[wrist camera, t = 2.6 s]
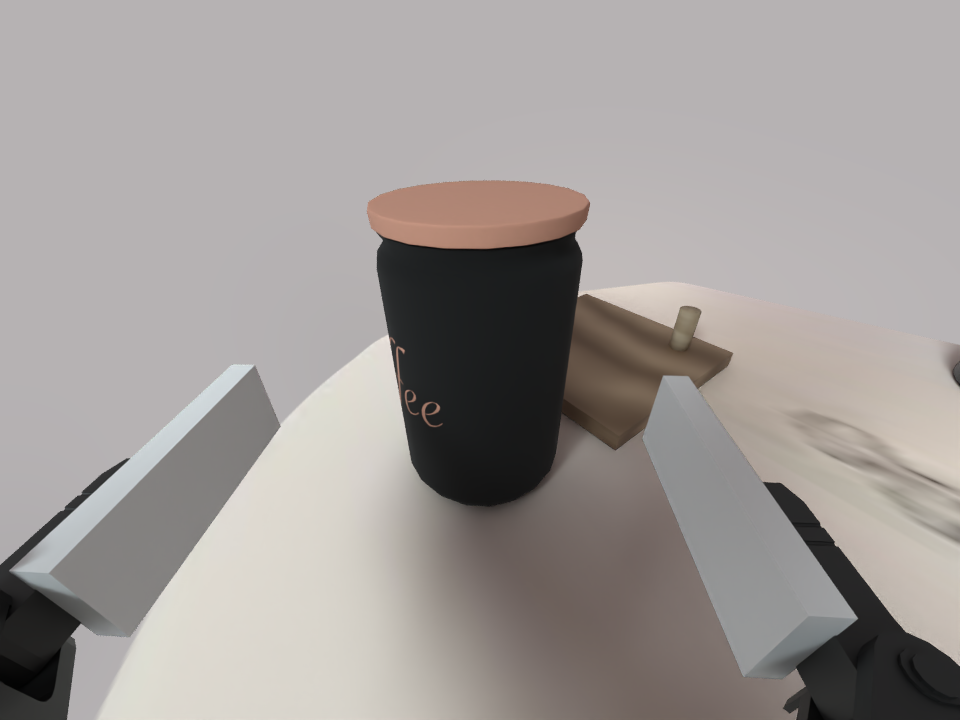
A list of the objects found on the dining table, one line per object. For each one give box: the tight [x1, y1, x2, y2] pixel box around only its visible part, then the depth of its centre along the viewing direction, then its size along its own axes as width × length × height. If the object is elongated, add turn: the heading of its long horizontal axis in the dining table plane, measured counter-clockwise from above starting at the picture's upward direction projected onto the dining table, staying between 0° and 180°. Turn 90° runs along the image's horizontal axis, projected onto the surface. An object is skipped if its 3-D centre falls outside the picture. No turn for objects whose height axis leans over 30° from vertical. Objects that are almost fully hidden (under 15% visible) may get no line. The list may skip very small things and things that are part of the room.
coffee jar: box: [367, 181, 590, 506], centre depth 23 cm, size 11×11×18 cm
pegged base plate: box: [562, 294, 733, 450], centre depth 37 cm, size 18×18×6 cm
